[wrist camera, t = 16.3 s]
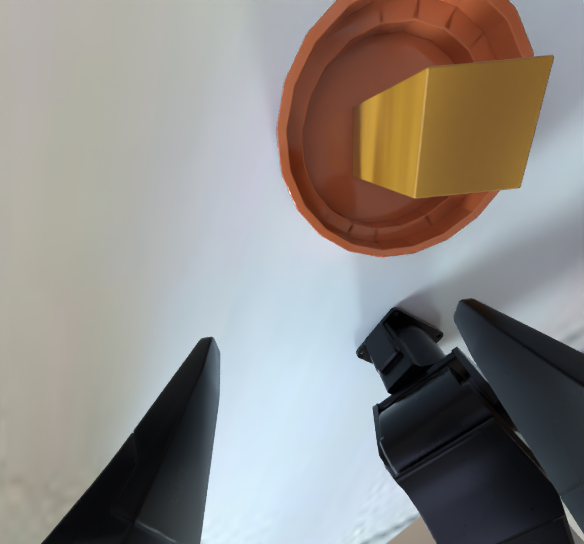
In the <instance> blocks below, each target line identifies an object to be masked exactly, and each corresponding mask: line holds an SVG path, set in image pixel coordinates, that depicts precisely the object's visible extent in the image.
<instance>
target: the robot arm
mask: <svg viewBox="0 0 584 544" xmlns="http://www.w3.org/2000/svg"><path fill="white" fill-rule="evenodd" d="M395 312H397V313H396V314H394V313H395ZM454 321H455V323H456V325H457V327H458V329H459V331H460V333H461V335H462V337H463V339H464V341H465V343H466V345H467V347H468V350H469V352H470V353H471V355H472V357H473V359H474V361H475V362H476V364H477V365H476V364H475V363H474V362H472V361H471V360H470V359H469V358H468V357H467V356H466V355H465V354H464V353H463V352H462V351H461V350H460V349H459V348H458V347H456V348H454V349H453V350H452V352H451V353H450V354H448V355H447V356H446V355H445V354H444V353H443V351H442V350H441V349H440V348H439V347H438V345H437V344H436V343H437V342H438V341H439V340H440V339H441V338H442V337H443V333H442V332H441V331H440V330H439V329H437V328H435V327H433V326H431V325H429V324H428V323H426V322H424V321H422V320H420V319H418V318H416V317H414V316H412V315H410V314H408V313H406V312H405V311H403V310H401V309H399V308H396V307H395V308H392V309H391V310H390V311H389V312H388V313H387V314H386V316H385V317H384V318H383V319H382V320H381V322H380V323H379V324H378V325H377V326H376V327H375V329H374V330H373V331H372V332H371V333H370V335H369V336H368V337H367V338H366V340H365V341H364V342H363V343H362V345H361V346H360V347H359V348H358V349H357V351H356V354H357V356H358V357H359V358H361V359H363V360H365V361H367V362H370V363H372V364H374V366H375V368H376V370H377V372H378V373H379V374H380V376H381V379H382V381H383V383H384V385H385V387H386V390H387V392H388V393H390V394H391V396H389V397H388V398H387V399H385V400H384V401H382V402H381V403H380V404H378V403H377V404H376V405H375V406H373V415H374V423H375V431H376V439H377V446H378V451H379V456H380V458H381V459H382V461H383V462H384V465H385V467H386V469H387V470H388V471H389V473H390V474H391V476H392V477H393V479H394V480H395V481H396V482H397V484H398V485H399V486H400V487H401V488H402V489H403V490H404V491H405V492H406V493H407V495H408V496H409V498H410V499H411V501H412V502H413V504H414V505H415V507H416V508H417V510H418V511H419V513H420V515H421V517H422V518H423V520H424V522H425V524H426V525H427V527H428V529H429V531H430V533H431V535H432V536H433V538H434V540H435V542H436V544H584V542H583V540H582V539H581V538H580V537H579V536H578V535H577V533H576V532H575V531H574V530H573V529H572V528H571V526H570V525H569V524H568V520H567V517H566V514H565V511H564V508H563V505H562V502H561V499H562V500H563V502H564V503H565V505H566V507H567V508H568V510H569V511H570V513H571V514H572V516H573V518H574V519H575V521H576V522H577V524H578V526H579V527H580V529H581V530H582V532H583V533H584V354H583V353H581V352H579V351H577V350H575V349H573V348H571V347H569V346H567V345H565V344H563V343H561V342H559V341H557V340H555V339H553V338H551V337H549V336H547V335H545V334H543V333H541V332H539V331H537V330H535V329H533V328H531V327H529V326H527V325H525V324H523V323H521V322H519V321H517V320H515V319H513V318H511V317H509V316H507V315H505V314H503V313H501V312H499V311H497V310H495V309H493V308H491V307H489V306H487V305H485V304H483V303H481V302H479V301H477V300H475V299H472V298H469V299H462V300H460V301H459V303H458V305H457V308H456V311H455V313H454ZM437 334H438V335H437ZM360 353H362V354H360ZM219 394H220V351H219V349H218V346H217V344H216V342H215V339H214V338H213V337H206V338H202V339H200V341H199V342H198V343H197V345H196V346H195V347H194V349H193V350H192V351H191V353H190V354H189V356H188V357H187V358H186V360H185V361H184V362H183V364H182V365H181V367H180V368H179V369H178V371H177V372H176V373H175V375H174V376H173V377H172V379H171V380H170V382H169V383H168V384H167V386H166V387H165V388H164V390H163V391H162V392H161V394H160V395H159V397H158V398H157V399H156V401H155V402H154V403H153V405H152V406H151V407H150V409H149V410H148V412H147V413H146V414H145V416H144V417H143V418H142V420H141V421H140V422H139V424H138V425H137V427H136V428H135V429H134V433H131V435H130V436H129V437H128V439H127V440H126V441H125V443H124V444H123V445H122V447H121V448H120V449H119V451H118V452H117V453H116V455H115V456H114V457H113V459H112V460H111V461H110V463H109V464H108V465H107V466H106V468H105V469H104V470H103V471H102V472H101V474H100V475H99V476H98V477H97V478H96V480H95V481H94V482H93V483H92V485H91V486H90V487H89V488H88V489H87V490H86V492H85V493H84V494H83V495H82V496H81V498H80V499H79V500H78V501H77V502H76V503H75V505H74V506H73V507H72V508H71V509H70V511H69V512H68V513H67V514H66V515H65V516H64V518H63V519H62V520H61V521H60V522H59V524H58V525H57V526H56V527H55V528H54V529H53V531H52V532H51V533H50V534H49V535H48V536H47V538H46V539H45V540H44V541H43V542H42V543H41V544H200V541H201V534H202V526H203V519H204V511H205V504H206V496H207V489H208V481H209V474H210V466H211V458H212V451H213V443H214V436H215V428H216V421H217V413H218V406H219ZM559 495H560V496H561V499H560V496H559Z"/></svg>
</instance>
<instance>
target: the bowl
mask: <svg viewBox="0 0 584 544" xmlns="http://www.w3.org/2000/svg"><path fill="white" fill-rule="evenodd" d="M515 9H516V8H515V7H514V6H513V5H512V4H511V3H510V1H509V0H336V1H335V2H334V4H333V5H332V6H331V7H330V8H329V9H328V10H327V11H326V12H325V14H324V15H323V16H322V17H321V18H320V19H319V20H318V21H317V22H316V24H315V25H314V26H313V27H312V28H311V29H310V30H309V31H308V33H307V35H306V36H305V38H304V41H303V43H302V45H301V47H300V49H299V51H298V53H297V55H296V58H295V60H294V62H293V64H292V66H291V68H290V70H289V73H288V75H287V77H286V79H285V82H284V86H283V92H282V98H281V104H280V110H279V116H278V122H277V128H276V136H277V144H278V153H279V161H280V169H281V174H282V177H283V179H284V181H285V183H286V186H287V188H288V190H289V193H290V195H291V197H292V199H293V202H294V204H295V206H296V208H297V210H298V211H299V212H300V213H301V215H302V216H303V217H304V218H305V219H306V220H307V221H308V222H309V223H310V225H311V226H312V227H313V228H314V229H315V230H316V231H317V232H318V234H319V235H321V236H322V237H324V238H326V239H328V240H329V241H331V242H333V243H335V244H337V245H338V246H340V247H342V248H344V249H346V250H347V251H350V252H355V253H360V254H366V255H371V256H377V257H387V256H396V255H404V254H412V253H416V252H418V251H421V250H423V249H426V248H428V247H431V246H433V245H435V244H438V243H440V242H443V241H445V240H447V239H449V238H450V237H451V236H453V235H454V234H456V233H457V232H458V231H460V230H461V229H462V228H464V227H465V226H466V225H468V224H469V223H470V222H472V221H473V220H474V219H476V218H477V217H478V216H479V215H480V214H481V212H482V211H483V210H484V209H485V208H486V206H487V205H488V204H489V203H490V202H491V201H492V199H493V198H494V197H495V196H496V195H497V193H498V192H499V191H500V190H496V191H487V192H477V193H467V194H457V195H447V196H437V197H427V198H417V199H415V198H412V197H409V196H406V195H404V194H401V193H398V192H395V191H393V190H390V189H387V188H384V187H382V186H379V185H376V184H373V183H371V182H368V181H365V180H362V179H359V178H357V177H354V176H353V107H354V106H356V105H358V104H360V103H362V102H364V101H366V100H367V99H369V98H371V97H373V96H375V95H377V94H379V93H381V92H382V91H384V90H386V89H388V88H390V87H392V86H394V85H396V84H397V83H399V82H401V81H403V80H405V79H407V78H409V77H410V76H412V75H414V74H416V73H418V72H420V71H422V70H424V69H425V68H427V67H431V66H442V65H452V64H463V63H473V62H484V61H494V60H505V59H516V58H526V57H534V53H533V50H532V47H531V45H530V42H529V40H528V37H527V34H526V32H525V29H524V27H523V24H522V22H521V19H520V16H519V14H518V11H517V10H515Z"/></svg>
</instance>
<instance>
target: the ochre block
mask: <svg viewBox="0 0 584 544" xmlns="http://www.w3.org/2000/svg"><path fill="white" fill-rule="evenodd" d="M553 59H554V56H553V55H547V56H537V57H526V58H516V59H505V60H494V61H484V62H473V63H463V64H452V65H442V66H431V67H427V68H425V69H424V70H422V71H420V72H418V73H416V74H414V75H412V76H410V77H409V78H407V79H405V80H403V81H401V82H399V83H397V84H396V85H394V86H392V87H390V88H388V89H386V90H384V91H382V92H381V93H379V94H377V95H375V96H373V97H371V98H369V99H367V100H366V101H364V102H362V103H360V104H358V105H356V106H354V107H353V176H354V177H357V178H359V179H362V180H365V181H368V182H371V183H373V184H376V185H379V186H382V187H384V188H387V189H390V190H393V191H395V192H398V193H401V194H404V195H406V196H409V197H412V198H415V199H417V198H427V197H437V196H447V195H457V194H467V193H477V192H487V191H496V190H506V189H516V188H520V187H521V183H522V179H523V175H524V172H525V168H526V164H527V160H528V156H529V152H530V148H531V144H532V141H533V137H534V133H535V129H536V125H537V121H538V117H539V113H540V110H541V106H542V102H543V98H544V94H545V90H546V86H547V82H548V79H549V75H550V71H551V67H552V63H553Z"/></svg>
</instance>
